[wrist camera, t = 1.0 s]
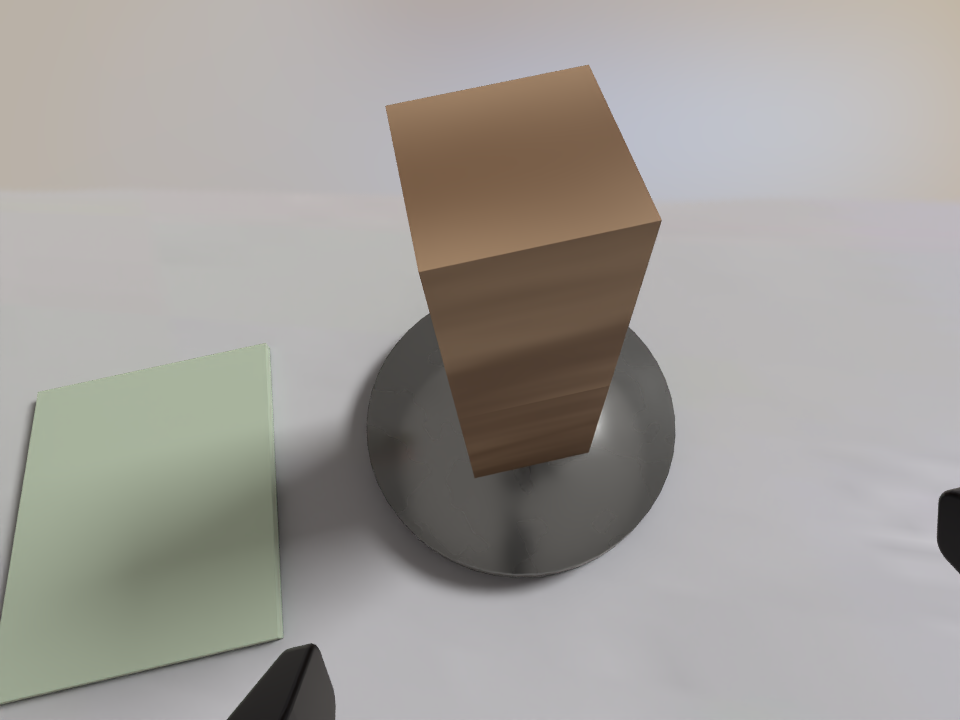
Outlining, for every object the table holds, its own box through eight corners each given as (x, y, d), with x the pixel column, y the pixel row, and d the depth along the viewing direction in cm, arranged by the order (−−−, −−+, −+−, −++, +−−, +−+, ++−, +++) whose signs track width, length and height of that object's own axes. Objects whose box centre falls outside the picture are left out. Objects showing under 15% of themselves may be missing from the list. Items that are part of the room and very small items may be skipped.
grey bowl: (717, 535, 21) (769, 502, 17) (394, 611, 21) (358, 598, 16) (614, 273, 27) (632, 196, 22) (357, 329, 26) (323, 262, 22)
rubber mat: (283, 637, 20) (278, 637, 20) (-2, 705, 20) (-14, 706, 20) (269, 348, 26) (265, 343, 26) (46, 396, 26) (38, 392, 25)
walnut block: (588, 452, 22) (661, 220, 10) (474, 478, 22) (418, 271, 10) (557, 352, 24) (588, 64, 12) (452, 375, 24) (385, 105, 12)
